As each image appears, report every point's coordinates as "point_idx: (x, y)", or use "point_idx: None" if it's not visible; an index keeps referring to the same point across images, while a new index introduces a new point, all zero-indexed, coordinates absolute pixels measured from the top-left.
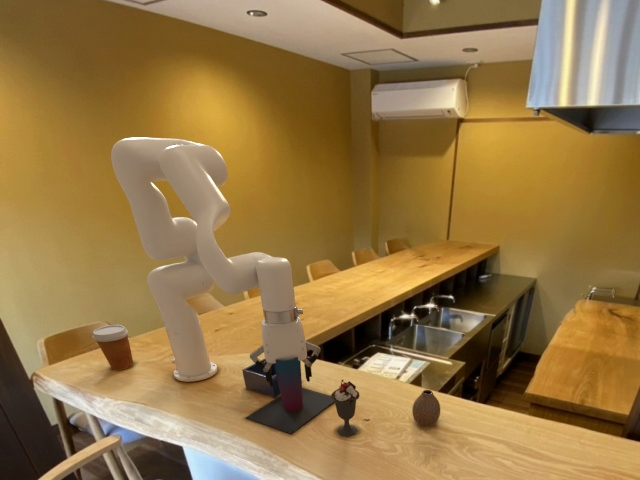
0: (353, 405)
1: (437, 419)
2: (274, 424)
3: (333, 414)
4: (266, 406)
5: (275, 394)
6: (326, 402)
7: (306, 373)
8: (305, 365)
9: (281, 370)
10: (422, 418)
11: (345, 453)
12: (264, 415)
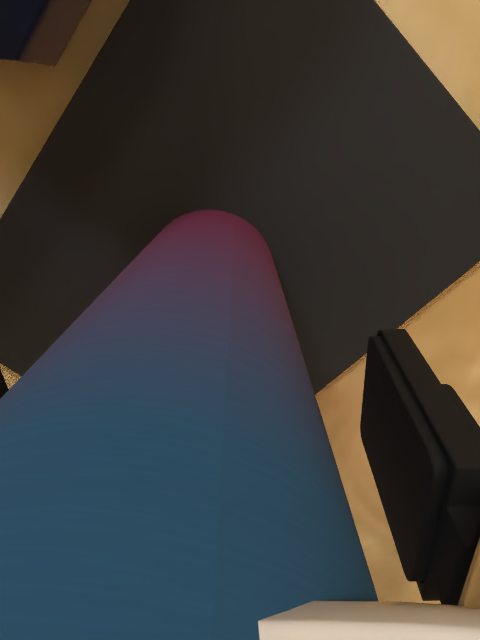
0: None
1: None
2: None
3: (433, 371)
4: (25, 223)
5: (50, 53)
6: (437, 254)
7: (389, 513)
8: (434, 528)
9: None
10: None
11: (390, 589)
12: (43, 327)
